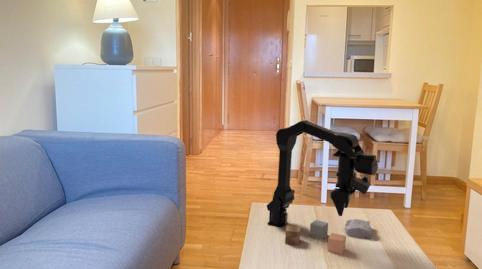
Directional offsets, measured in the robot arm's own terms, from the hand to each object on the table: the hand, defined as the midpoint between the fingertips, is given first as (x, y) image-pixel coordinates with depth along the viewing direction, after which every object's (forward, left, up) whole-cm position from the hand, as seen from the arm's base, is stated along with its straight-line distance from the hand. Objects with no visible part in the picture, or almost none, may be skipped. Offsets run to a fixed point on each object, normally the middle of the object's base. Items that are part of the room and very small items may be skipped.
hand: (343, 211), depth 148 cm
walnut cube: (-16, -7, -12) cm, 21 cm away
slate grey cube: (-9, +3, -12) cm, 15 cm away
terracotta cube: (0, -6, -12) cm, 14 cm away
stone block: (+3, +14, -13) cm, 19 cm away
